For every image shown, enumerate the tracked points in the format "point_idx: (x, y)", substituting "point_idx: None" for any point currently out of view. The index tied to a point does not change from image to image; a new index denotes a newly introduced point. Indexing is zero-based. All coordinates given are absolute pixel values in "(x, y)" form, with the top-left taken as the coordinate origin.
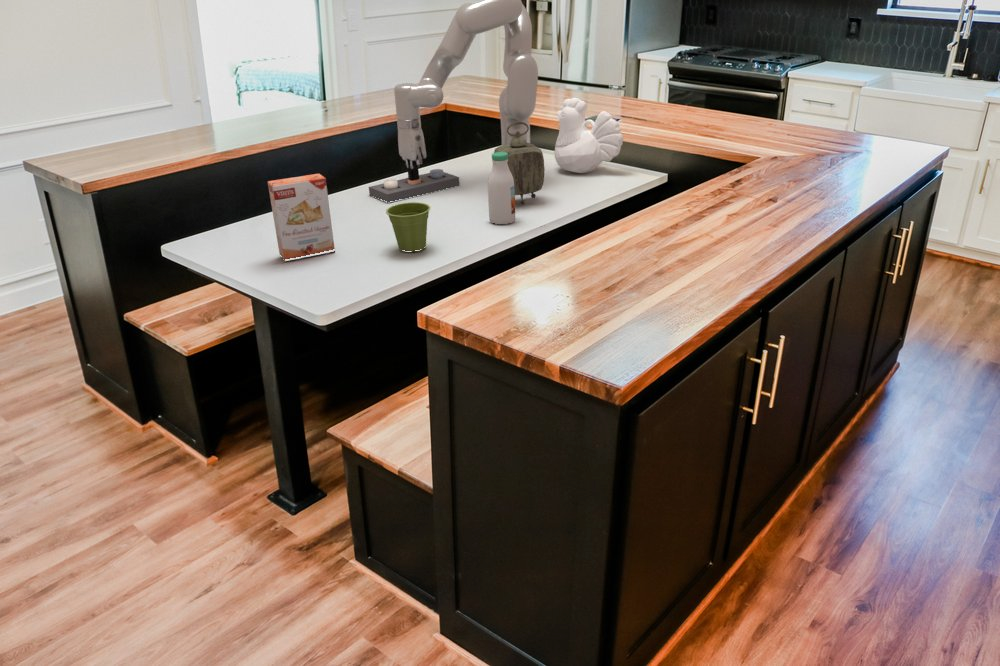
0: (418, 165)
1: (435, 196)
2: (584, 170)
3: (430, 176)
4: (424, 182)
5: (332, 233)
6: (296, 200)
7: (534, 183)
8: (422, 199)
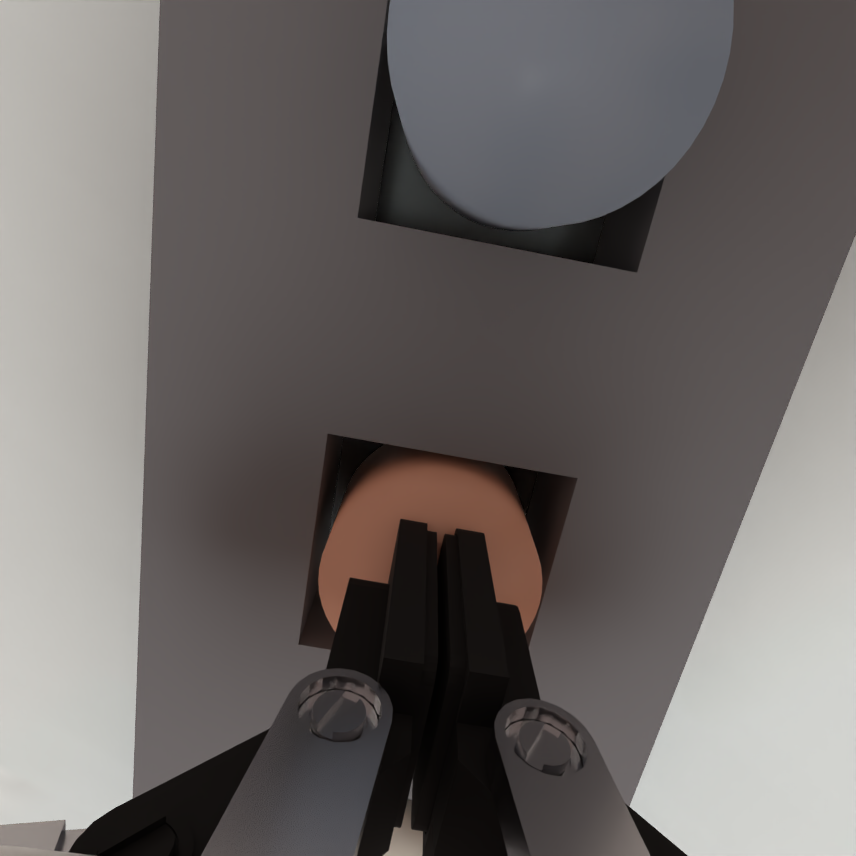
0: (655, 840)
1: (830, 532)
2: None
3: (465, 212)
4: (598, 506)
5: None
6: None
7: None
8: (754, 679)
